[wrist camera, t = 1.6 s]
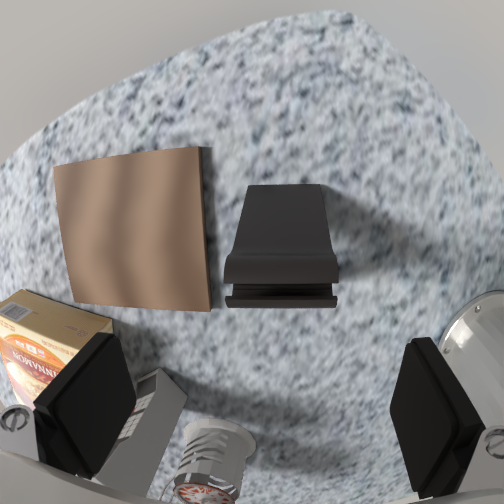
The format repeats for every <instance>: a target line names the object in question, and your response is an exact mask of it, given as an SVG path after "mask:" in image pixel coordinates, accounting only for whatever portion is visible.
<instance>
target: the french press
mask: <svg viewBox="0 0 504 504" xmlns="http://www.w3.org/2000/svg"><path fill="white" fill-rule="evenodd" d="M183 433H184V438H185V441H186V443H187V447H186V449H185V452H184V455H183V457H182V460H181V463H180V465H179V469H178V471H177V474H176V475H175V476H174V477H172V478H171V479H170V480H169V481H168V483H167V484H166V485H165V487H164V488H163V490H162V493H161V496H160V498H159V501H161V498H162V496H163V494H164V491H165V489H166V487H167V486H168V485H169V483H170V482H171V481H172V480H173V479H174V478H175V480H174V483H175V485H176V486H175V488H174V489H173V494H172V496H171V498H170V501H169V503H171V502H172V499H173V496H174V495H175V496H176V497H177V498H178V499H179V500H180V501H181V502H182V503H184V504H235V502H234V501H235V500H237V499H238V498H239V495H240V490H241V485H242V479H243V472H244V469H245V463H246V458H248V457H250V456H251V455H252V454H253V452H254V451H255V450H256V441H255V440H254V438H253V437H252V435H251V434H250V432H248V431H247V430H245V429H244V428H242V427H241V426H240V425H238V424H235V423H232V422H229V421H227V420H223V419H214V418H205V419H197V420H194V421H193V422H191V423H189V424H188V425H187V426H186V428H185V430H184V432H183ZM194 452H195V453H196V454H195V455H193V454H194ZM195 458H197V459H196V462H193V463H191V460H192V459H195ZM187 473H192V474H191V477H190V478H189V479H187V480H185V478H186V475H187ZM210 475H211V476H214V477H216V478H220V479H222V480H225V481H227V482H225V483H222V482H218V481H215V480H213V479H211V478H209V477H210ZM187 481H189V483H185V482H187ZM208 482H210V483H212V484H214V485H218V486H222V487H224V486H228V485H233V487H232V488H228V489H224V490H221V489H219V488H216V487H213V486H210V485H207V484H208ZM234 488H236V490H235V491H234V492H233V493H232V494H231V495H229V494H228V492H231V491H232V490H233V489H234Z"/></svg>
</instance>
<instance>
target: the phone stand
mask: <svg viewBox="0 0 504 504" xmlns="http://www.w3.org/2000/svg"><path fill="white" fill-rule="evenodd" d="M332 283H339V279H338V263H337V258H336V255H335V254H334V252H333V249H332V245H331V239H330V234H329V228H328V223H327V218H326V213H325V208H324V203H323V198H322V193H321V188H320V184H288V185H249V186H248V189H247V193H246V197H245V201H244V205H243V209H242V213H241V217H240V221H239V225H238V229H237V233H236V237H235V241H234V245H233V249H232V251H231V253H230V254H229V255H228V256H227V258H226V262H225V268H224V284H233V292H232V296H226V297H225V302H226V305H227V307H228V308H335V307H336V305H337V300H338V299H337V296H333V293H332Z"/></svg>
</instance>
